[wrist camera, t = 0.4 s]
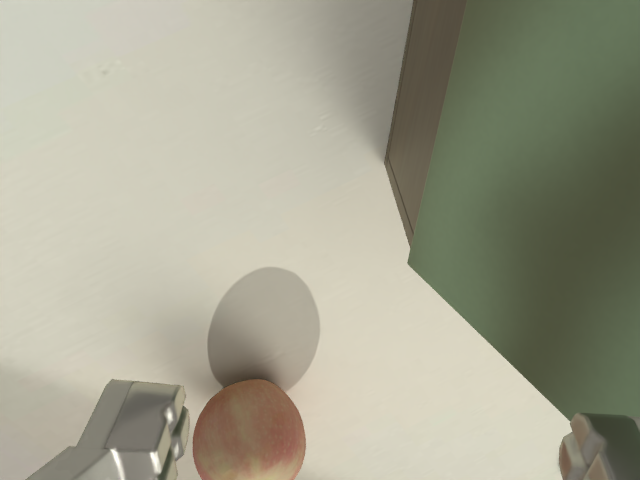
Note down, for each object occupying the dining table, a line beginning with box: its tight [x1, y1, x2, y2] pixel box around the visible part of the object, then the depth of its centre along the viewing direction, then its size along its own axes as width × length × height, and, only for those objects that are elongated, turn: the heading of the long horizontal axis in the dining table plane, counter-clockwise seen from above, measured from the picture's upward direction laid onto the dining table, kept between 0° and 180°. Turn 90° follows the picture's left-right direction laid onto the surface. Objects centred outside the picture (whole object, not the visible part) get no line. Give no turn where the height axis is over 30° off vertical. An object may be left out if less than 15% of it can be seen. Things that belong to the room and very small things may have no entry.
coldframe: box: [384, 0, 467, 249], centre depth 26 cm, size 16×14×10 cm
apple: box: [193, 379, 306, 480], centre depth 39 cm, size 8×8×8 cm
